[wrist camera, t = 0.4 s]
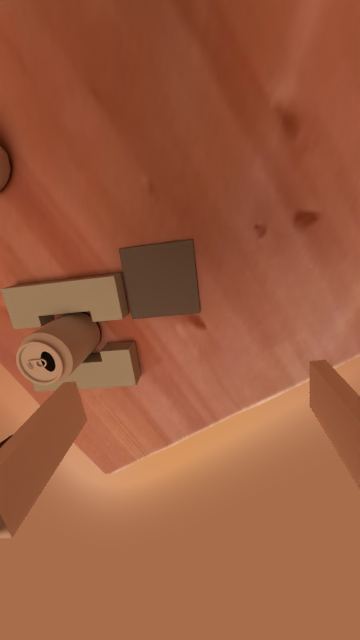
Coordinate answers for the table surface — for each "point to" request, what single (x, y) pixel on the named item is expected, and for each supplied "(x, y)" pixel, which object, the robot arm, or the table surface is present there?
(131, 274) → the coaster
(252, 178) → the table surface
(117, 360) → the pocket block
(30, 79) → the table surface
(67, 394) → the robot arm
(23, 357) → the can
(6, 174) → the decorative ornament
